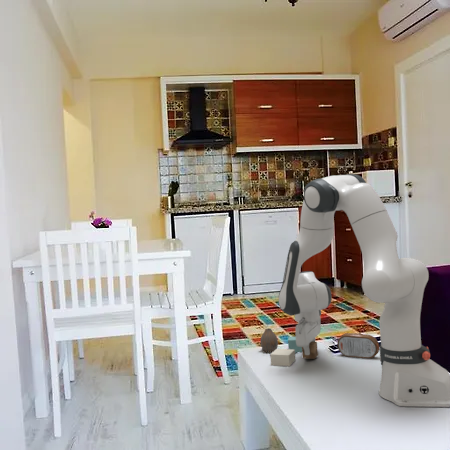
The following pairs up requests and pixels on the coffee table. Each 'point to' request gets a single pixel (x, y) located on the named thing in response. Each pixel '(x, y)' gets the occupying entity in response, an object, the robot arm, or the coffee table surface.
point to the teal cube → (293, 344)
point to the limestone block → (282, 357)
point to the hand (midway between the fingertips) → (310, 352)
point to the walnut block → (313, 351)
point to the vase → (269, 341)
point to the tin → (358, 345)
